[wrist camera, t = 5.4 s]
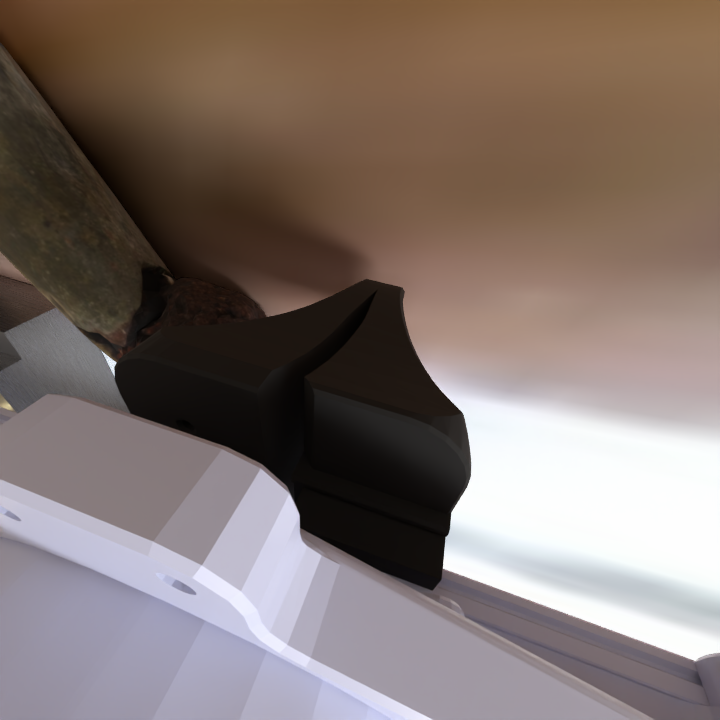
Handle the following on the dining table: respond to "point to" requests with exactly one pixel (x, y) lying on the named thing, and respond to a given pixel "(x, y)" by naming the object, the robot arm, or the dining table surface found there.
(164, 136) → the dining table surface
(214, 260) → the dining table surface
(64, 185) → the brown elongated piece
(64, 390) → the gray angular bracket
